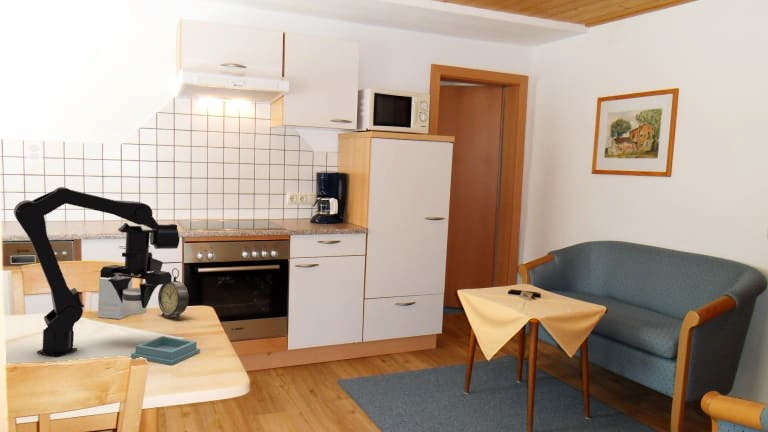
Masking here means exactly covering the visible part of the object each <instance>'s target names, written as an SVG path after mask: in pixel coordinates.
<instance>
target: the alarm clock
mask: <svg viewBox="0 0 768 432" xmlns="http://www.w3.org/2000/svg"><path fill="white" fill-rule="evenodd" d="M175 270H176V271H177V276H174V271H175ZM179 272H180V271H179V269H178V268H176V267H174V268H172V269H171V276H172V278H173V280H171V282H170V283H166V284H161V285H160V288H159V290H158V294H157V299H158V300H157V301H158V307H159V309H160V310H161V311H160V312H162V314H161V316H164V315H165V316H167V317H169V316H176V319H177V321H178V322H179V321H180V315H181V314H182V313H184V312H185V311H186V309H187V307H188V306H189V305H188V304H189V297H190V296H189V291H188V287H186V285H185V284H184V283H183V282H181V281H180V280H177V279H178V278H179V275H180V273H179Z"/></svg>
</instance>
